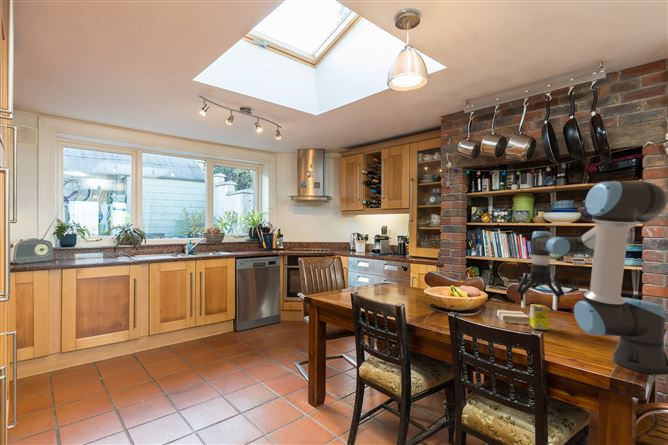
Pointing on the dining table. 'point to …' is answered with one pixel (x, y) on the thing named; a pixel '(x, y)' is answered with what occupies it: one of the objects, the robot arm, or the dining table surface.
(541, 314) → the supplement box
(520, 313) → the maple block
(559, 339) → the dining table surface
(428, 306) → the dining table surface
